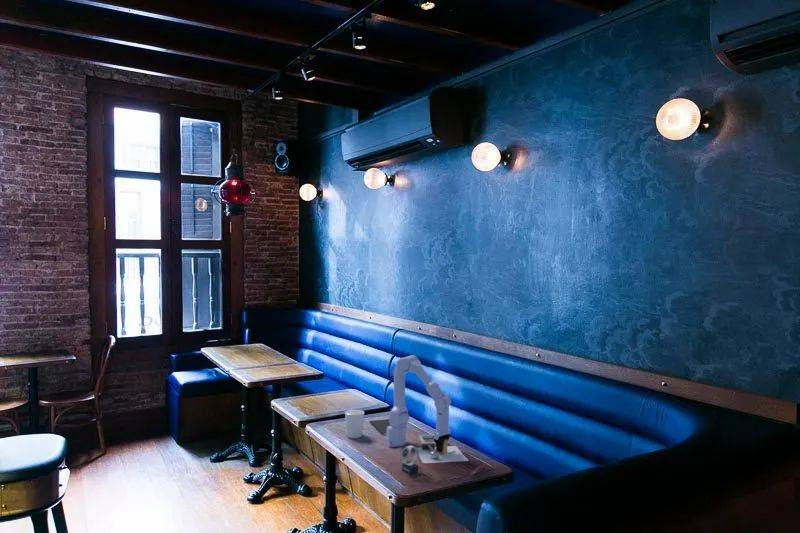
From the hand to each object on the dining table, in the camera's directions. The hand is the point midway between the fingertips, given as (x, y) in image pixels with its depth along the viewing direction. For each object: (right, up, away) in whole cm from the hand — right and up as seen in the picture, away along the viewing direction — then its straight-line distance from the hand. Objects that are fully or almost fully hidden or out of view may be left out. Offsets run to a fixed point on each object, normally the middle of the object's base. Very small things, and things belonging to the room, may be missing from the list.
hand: (441, 450), depth 254 cm
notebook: (-26, -1, +37) cm, 46 cm away
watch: (-15, -3, -21) cm, 26 cm away
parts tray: (-3, -2, +15) cm, 15 cm away
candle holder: (-43, -1, +24) cm, 49 cm away
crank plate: (-1, -2, -2) cm, 3 cm away
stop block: (0, -1, 0) cm, 1 cm away
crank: (-5, -1, -2) cm, 5 cm away
